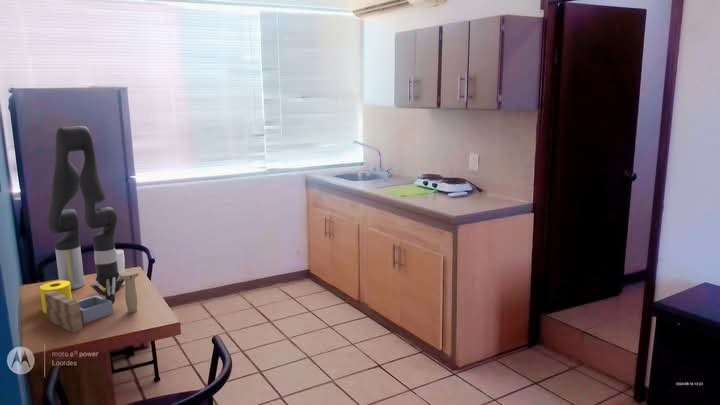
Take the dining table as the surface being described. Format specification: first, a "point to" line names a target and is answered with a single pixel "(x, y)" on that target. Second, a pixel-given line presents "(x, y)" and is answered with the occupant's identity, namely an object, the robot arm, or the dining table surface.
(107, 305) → the box
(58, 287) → the tape roll
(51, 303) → the block
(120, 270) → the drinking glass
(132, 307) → the handle
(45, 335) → the dining table surface
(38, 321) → the dining table surface
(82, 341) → the dining table surface
